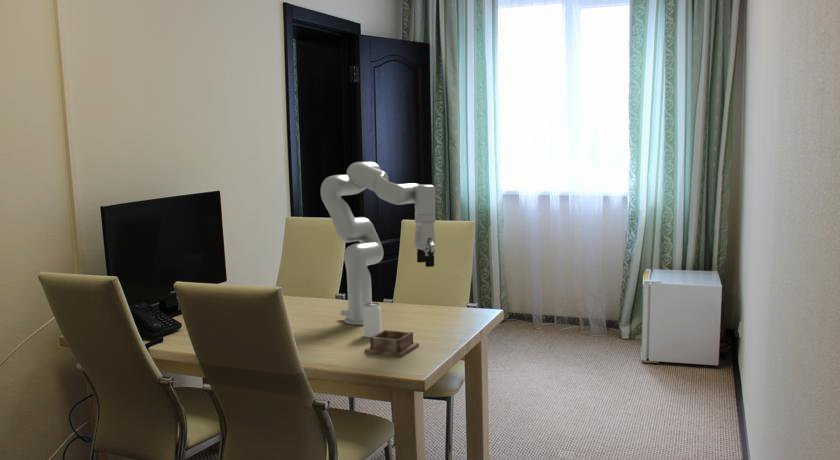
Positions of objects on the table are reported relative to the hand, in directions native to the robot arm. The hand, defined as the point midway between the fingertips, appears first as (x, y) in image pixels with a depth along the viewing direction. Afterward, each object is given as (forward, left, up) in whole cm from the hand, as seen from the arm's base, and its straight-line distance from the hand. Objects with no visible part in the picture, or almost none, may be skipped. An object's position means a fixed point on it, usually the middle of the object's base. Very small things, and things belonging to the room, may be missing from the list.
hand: (425, 264), depth 273 cm
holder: (-2, -25, -26) cm, 36 cm away
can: (-17, -11, -26) cm, 33 cm away
